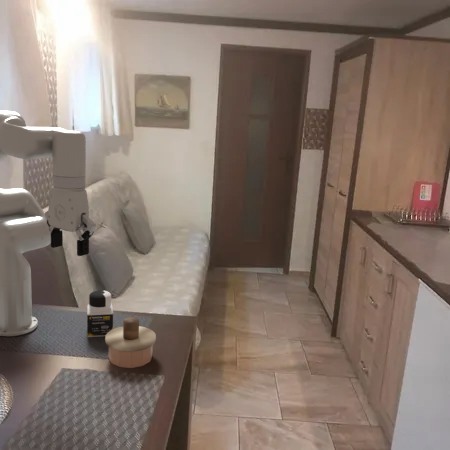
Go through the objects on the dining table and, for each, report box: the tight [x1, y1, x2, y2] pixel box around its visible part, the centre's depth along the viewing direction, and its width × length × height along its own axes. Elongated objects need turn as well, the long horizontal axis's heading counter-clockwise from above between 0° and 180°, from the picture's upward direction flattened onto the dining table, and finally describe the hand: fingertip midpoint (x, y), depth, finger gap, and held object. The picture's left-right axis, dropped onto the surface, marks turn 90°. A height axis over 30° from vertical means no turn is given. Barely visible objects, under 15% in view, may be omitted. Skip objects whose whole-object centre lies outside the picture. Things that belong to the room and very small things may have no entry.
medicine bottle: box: [86, 289, 114, 338], centre depth 138 cm, size 7×7×12 cm
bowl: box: [108, 344, 154, 369], centre depth 126 cm, size 11×11×5 cm
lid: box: [104, 317, 157, 352], centre depth 125 cm, size 13×13×5 cm
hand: (69, 250), depth 120 cm, fingers open, 9 cm apart
